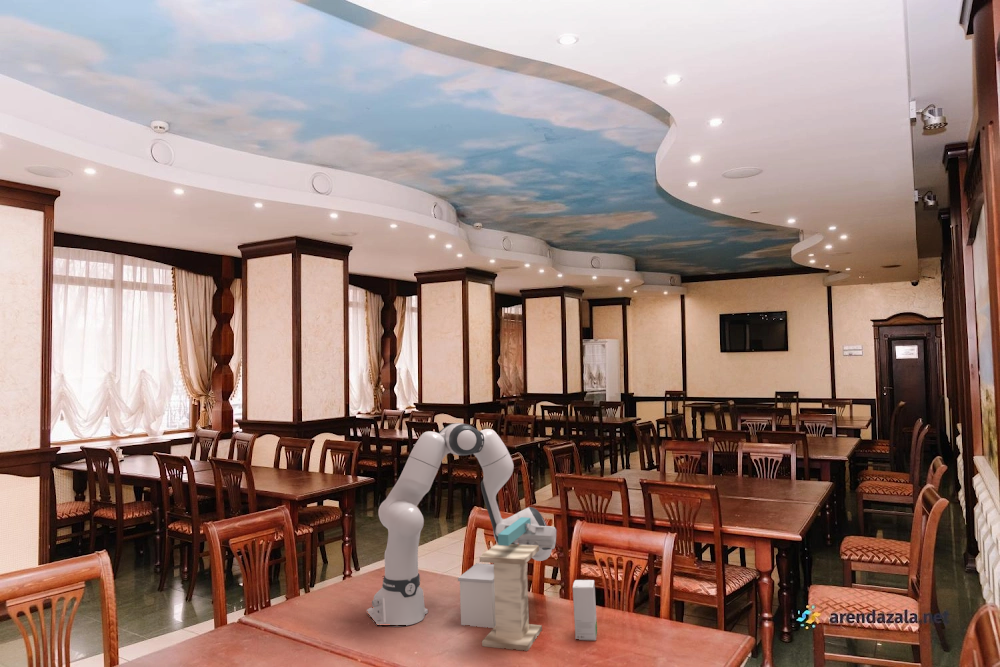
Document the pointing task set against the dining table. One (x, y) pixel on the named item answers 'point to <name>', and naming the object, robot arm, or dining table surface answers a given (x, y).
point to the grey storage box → (478, 596)
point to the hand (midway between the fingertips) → (520, 525)
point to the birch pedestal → (511, 597)
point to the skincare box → (584, 610)
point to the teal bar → (513, 531)
